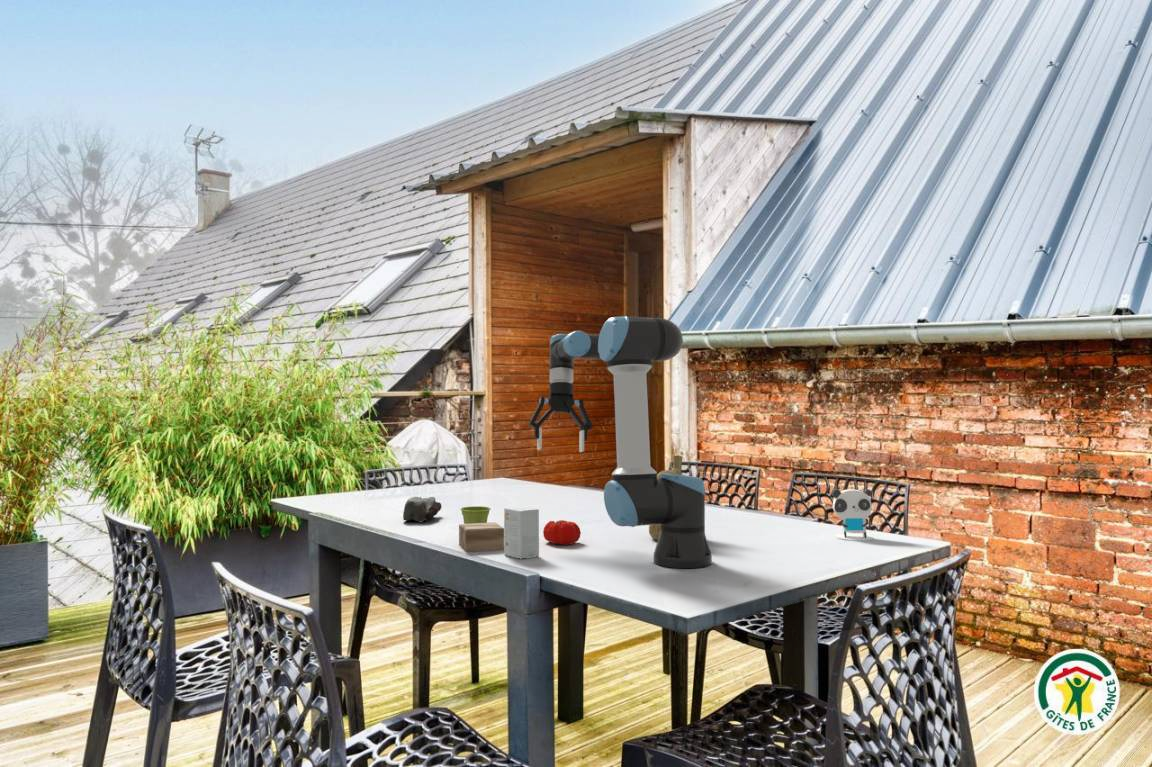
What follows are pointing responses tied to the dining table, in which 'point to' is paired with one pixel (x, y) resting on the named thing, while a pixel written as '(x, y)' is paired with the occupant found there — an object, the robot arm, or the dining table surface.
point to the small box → (521, 532)
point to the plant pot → (475, 514)
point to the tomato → (561, 532)
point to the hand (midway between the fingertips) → (560, 450)
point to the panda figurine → (852, 513)
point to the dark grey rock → (421, 508)
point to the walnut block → (481, 536)
